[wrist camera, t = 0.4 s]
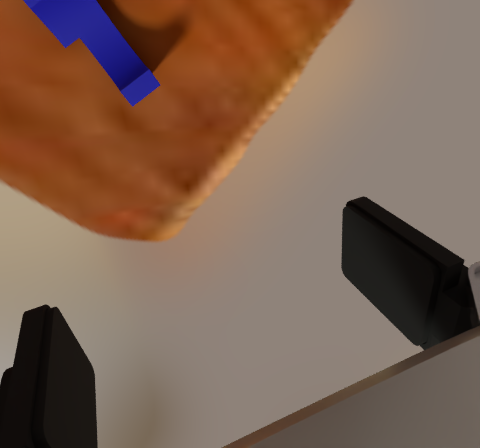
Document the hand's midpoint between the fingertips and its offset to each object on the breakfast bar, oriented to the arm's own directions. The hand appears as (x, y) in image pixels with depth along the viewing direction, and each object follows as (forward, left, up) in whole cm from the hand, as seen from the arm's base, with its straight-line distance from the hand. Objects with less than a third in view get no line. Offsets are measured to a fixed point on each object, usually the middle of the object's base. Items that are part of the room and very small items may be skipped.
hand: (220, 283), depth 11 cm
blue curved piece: (-6, -1, -30) cm, 31 cm away
